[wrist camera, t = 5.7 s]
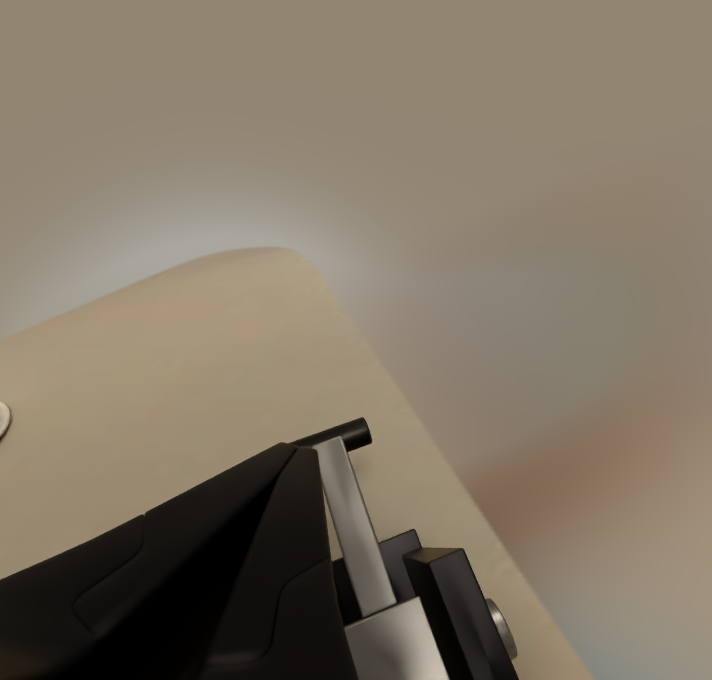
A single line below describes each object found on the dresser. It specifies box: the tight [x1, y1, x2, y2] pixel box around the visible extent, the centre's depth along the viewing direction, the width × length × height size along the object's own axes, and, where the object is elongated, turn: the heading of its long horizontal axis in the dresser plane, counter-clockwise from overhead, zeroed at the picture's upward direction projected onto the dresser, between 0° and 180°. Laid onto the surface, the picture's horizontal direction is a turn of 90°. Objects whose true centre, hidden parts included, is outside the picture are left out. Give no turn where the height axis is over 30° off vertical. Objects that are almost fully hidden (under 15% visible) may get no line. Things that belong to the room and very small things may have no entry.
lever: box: [288, 417, 451, 680], centre depth 12 cm, size 8×3×2 cm, turn 19°
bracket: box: [332, 529, 519, 680], centre depth 13 cm, size 6×6×10 cm
